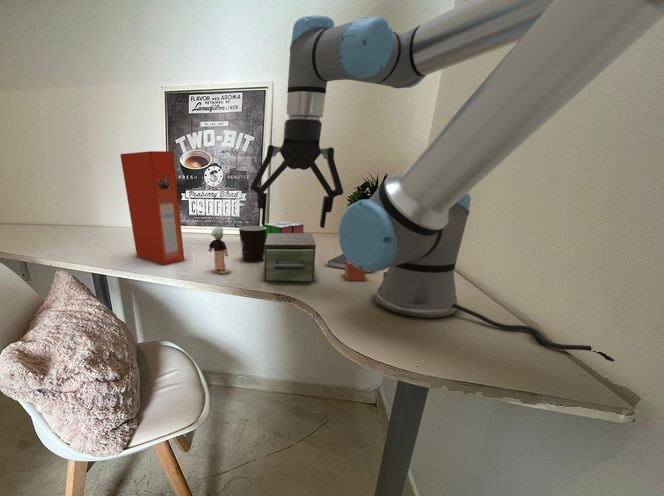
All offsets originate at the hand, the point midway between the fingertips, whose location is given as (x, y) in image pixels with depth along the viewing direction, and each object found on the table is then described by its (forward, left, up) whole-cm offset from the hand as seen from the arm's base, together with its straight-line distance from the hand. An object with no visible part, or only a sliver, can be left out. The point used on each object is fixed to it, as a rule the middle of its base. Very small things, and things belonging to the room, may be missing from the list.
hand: (292, 224), depth 78 cm
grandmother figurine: (+20, +12, -15) cm, 28 cm away
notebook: (+10, -31, -15) cm, 36 cm away
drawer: (+5, -3, -14) cm, 15 cm away
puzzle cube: (+30, -14, -15) cm, 36 cm away
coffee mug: (+29, -3, -15) cm, 33 cm away
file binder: (+44, +25, -15) cm, 53 cm away
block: (-2, -18, -15) cm, 24 cm away
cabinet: (+10, -5, -15) cm, 19 cm away
